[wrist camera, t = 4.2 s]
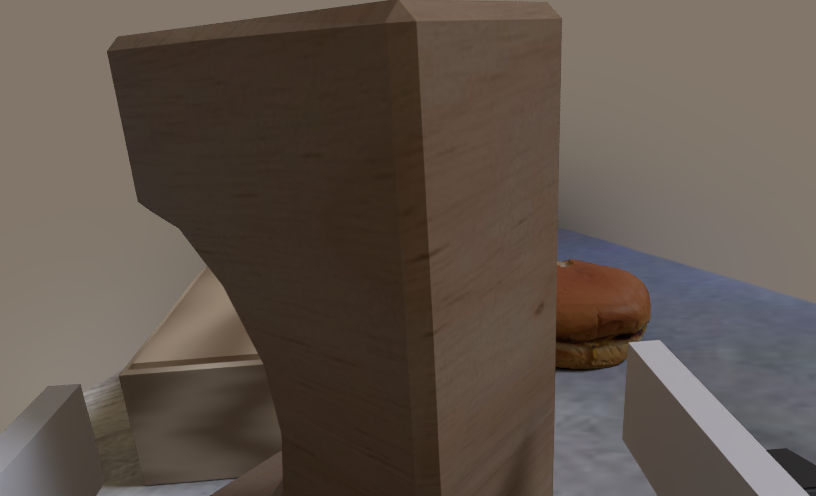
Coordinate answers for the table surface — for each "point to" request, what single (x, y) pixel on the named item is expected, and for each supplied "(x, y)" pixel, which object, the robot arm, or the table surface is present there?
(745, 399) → the table surface
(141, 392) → the plinth
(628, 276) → the burger
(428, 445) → the decorative block
